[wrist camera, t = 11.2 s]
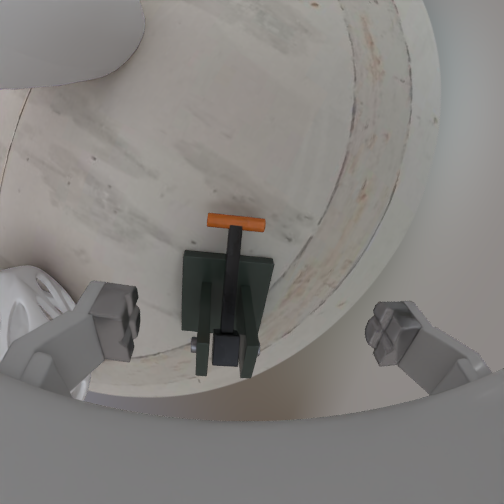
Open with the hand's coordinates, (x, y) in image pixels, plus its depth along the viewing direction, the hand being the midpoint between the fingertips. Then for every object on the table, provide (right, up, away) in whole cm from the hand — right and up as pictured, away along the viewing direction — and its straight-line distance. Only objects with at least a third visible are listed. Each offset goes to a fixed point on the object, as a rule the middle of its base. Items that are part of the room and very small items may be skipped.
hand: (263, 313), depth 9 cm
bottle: (-14, +22, +8) cm, 27 cm away
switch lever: (-2, -1, +16) cm, 17 cm away
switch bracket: (-3, -3, +22) cm, 22 cm away
